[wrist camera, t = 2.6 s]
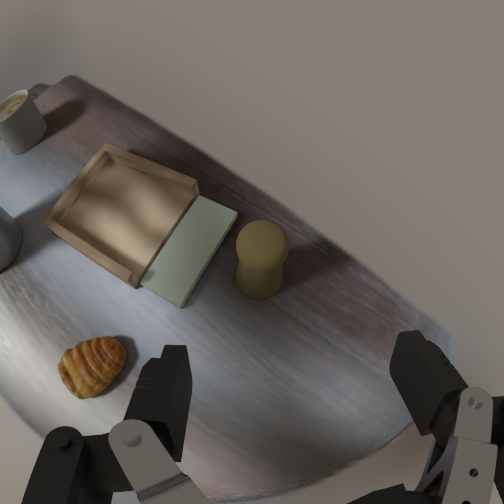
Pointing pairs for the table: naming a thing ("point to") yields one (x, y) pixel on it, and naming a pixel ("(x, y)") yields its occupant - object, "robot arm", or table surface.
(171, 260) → the panel
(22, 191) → the table surface
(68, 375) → the pastry
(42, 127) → the coffee mug
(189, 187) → the tray
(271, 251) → the cork
